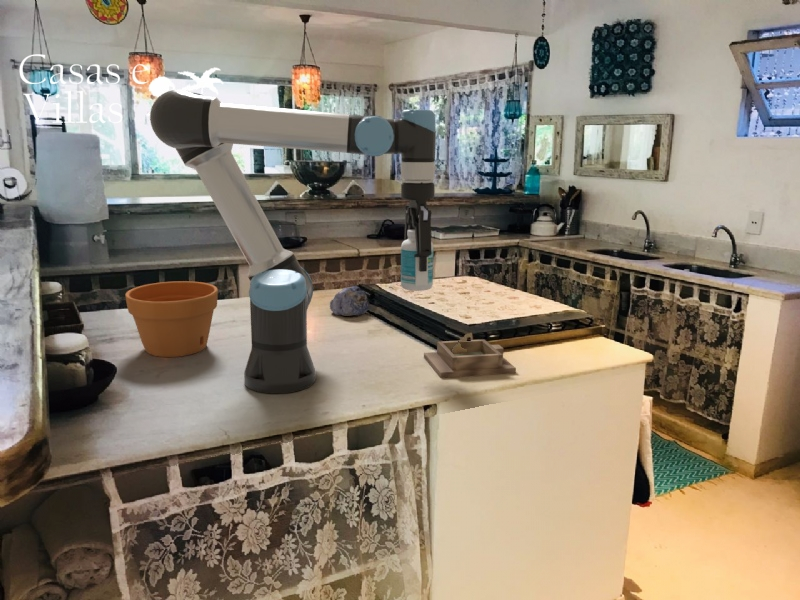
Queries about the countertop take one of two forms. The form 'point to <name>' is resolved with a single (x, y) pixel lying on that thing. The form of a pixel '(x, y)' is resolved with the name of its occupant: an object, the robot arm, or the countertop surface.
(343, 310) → the rock
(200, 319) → the flower pot
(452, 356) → the wooden tray
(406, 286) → the pill bottle
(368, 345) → the countertop surface
